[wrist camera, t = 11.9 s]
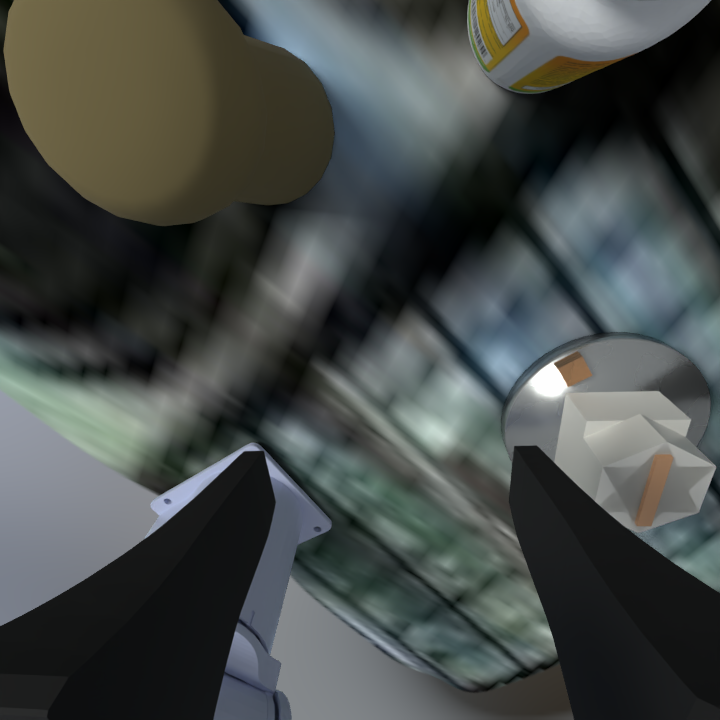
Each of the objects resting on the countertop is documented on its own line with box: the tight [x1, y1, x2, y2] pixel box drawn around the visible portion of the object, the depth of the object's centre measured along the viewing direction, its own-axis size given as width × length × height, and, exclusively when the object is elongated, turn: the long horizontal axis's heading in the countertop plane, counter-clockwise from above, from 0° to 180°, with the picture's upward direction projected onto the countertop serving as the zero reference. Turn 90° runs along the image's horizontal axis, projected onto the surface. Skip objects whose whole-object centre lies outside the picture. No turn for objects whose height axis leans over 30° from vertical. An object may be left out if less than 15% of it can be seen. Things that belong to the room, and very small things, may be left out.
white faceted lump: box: [554, 391, 716, 533], centre depth 20 cm, size 5×4×5 cm
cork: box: [4, 0, 335, 226], centre depth 13 cm, size 6×6×11 cm
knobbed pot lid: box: [501, 332, 711, 463], centre depth 21 cm, size 10×10×3 cm
